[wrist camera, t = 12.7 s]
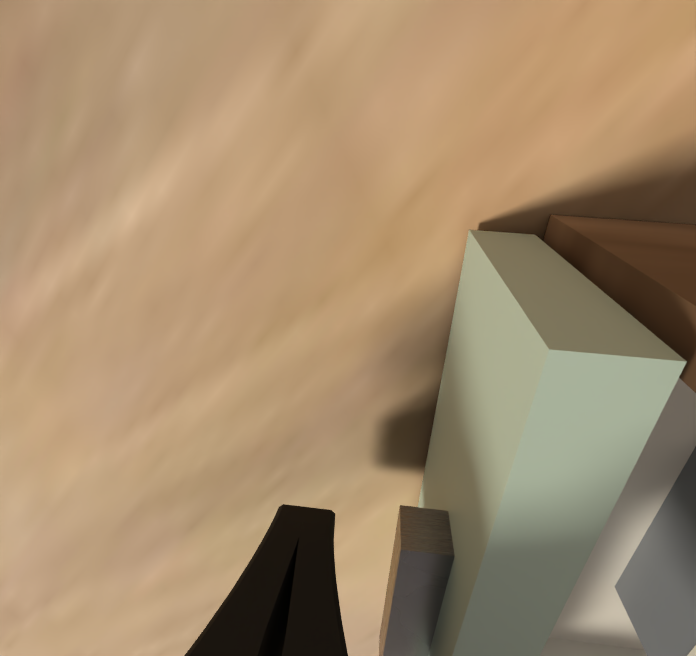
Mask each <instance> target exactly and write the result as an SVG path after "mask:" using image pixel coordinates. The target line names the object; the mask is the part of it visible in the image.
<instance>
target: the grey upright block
mask: <svg viewBox="0 0 696 656" xmlns="http://www.w3.org/2000/svg"><path fill="white" fill-rule="evenodd" d="M615 589H616V591H617V593H618V595H619V597H620V599H621V602H622V604H623V606H624V608H625V610H626V612H627V614H628V616H629V619H630V621H631V623H632V625H633V627H634V629H635V631H636V633H637V636H638V638H639V640H640V642H641V644H642V646H643V648H644V650H645V652H646V655H647V656H696V447H695V448H694V450H693V452H692V454H691V455H690V457H689V459H688V460H687V462H686V464H685V466H684V467H683V469H682V471H681V473H680V474H679V476H678V478H677V479H676V481H675V483H674V485H673V486H672V488H671V490H670V492H669V493H668V495H667V497H666V498H665V500H664V502H663V504H662V505H661V507H660V509H659V511H658V512H657V514H656V516H655V517H654V519H653V521H652V523H651V524H650V526H649V528H648V530H647V531H646V533H645V535H644V536H643V538H642V540H641V542H640V543H639V545H638V547H637V549H636V550H635V552H634V554H633V556H632V557H631V559H630V561H629V562H628V564H627V566H626V568H625V569H624V571H623V573H622V575H621V576H620V578H619V580H618V581H617V583H616V585H615Z"/></svg>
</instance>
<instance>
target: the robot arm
mask: <svg viewBox="0 0 696 656" xmlns="http://www.w3.org/2000/svg"><path fill="white" fill-rule="evenodd" d="M334 526H335V513H334V512H333V511H332V510H326V509H317V508H309V507H301V506H292V505H284V504H283V505H282V506H280V507H279V509H278V511H277V513H276V515H275V517H274V519H273V521H272V523H271V525H270V527H269V529H268V531H267V533H266V535H265V536H264V538H263V540H262V542H261V544H260V545H259V547H258V549H257V550H256V552H255V554H254V555H253V557H252V559H251V560H250V562H249V564H248V565H247V567H246V568H245V570H244V572H243V573H242V575H241V576H240V578H239V579H238V581H237V583H236V584H235V586H234V587H233V589H232V590H231V592H230V593H229V595H228V596H227V598H226V599H225V601H224V602H223V603H222V605H221V606H220V608H219V609H218V611H217V612H216V613H215V615H214V616H213V618H212V619H211V621H210V622H209V623H208V625H207V626H206V628H205V629H204V630H203V632H202V633H201V634H200V636H199V637H198V639H197V640H196V641H195V643H194V644H193V645H192V647H191V648H190V649H189V650H188V652H187V653H186V654H185V656H348V654H347V648H346V643H345V637H344V632H343V626H342V620H341V613H340V606H339V599H338V591H337V584H336V574H335V562H334Z"/></svg>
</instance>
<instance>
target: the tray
mask: <svg viewBox="0 0 696 656" xmlns="http://www.w3.org/2000/svg"><path fill="white" fill-rule="evenodd" d="M686 362H687V361H685V360H684V359H683V358H682V357H681V356H679V355H678V354H677V353H676V352H675V351H674V350H672V349H671V348H670V347H669V346H668V345H666V344H665V343H664V342H663V341H662V340H660V339H659V338H658V337H657V336H656V335H654V334H653V333H652V332H651V331H650V330H648V329H647V328H646V327H645V326H644V325H642V324H641V323H640V322H639V321H638V320H636V319H635V318H634V317H633V316H632V315H631V314H629V313H628V312H627V311H626V310H625V309H623V308H622V307H621V306H620V305H619V304H617V303H616V302H615V301H614V300H613V299H611V298H610V297H609V296H608V295H607V294H605V293H604V292H603V291H602V290H601V289H599V288H598V287H597V286H596V285H595V284H593V283H592V282H591V281H590V280H589V279H587V278H586V277H585V276H584V275H583V274H582V273H580V272H579V271H578V270H577V269H576V268H574V267H573V266H572V265H571V264H570V263H568V262H567V261H566V260H565V259H564V258H562V257H561V256H560V255H559V254H558V253H556V252H555V251H554V250H553V249H552V248H550V247H549V246H548V245H547V244H546V243H544V242H543V241H542V240H541V239H540V238H539V237H537V236H536V235H535V234H521V233H507V232H493V231H479V230H469V233H468V238H467V244H466V249H465V255H464V260H463V265H462V271H461V276H460V282H459V287H458V292H457V298H456V303H455V309H454V314H453V319H452V325H451V330H450V336H449V341H448V346H447V352H446V357H445V363H444V368H443V374H442V379H441V384H440V390H439V395H438V401H437V406H436V411H435V417H434V422H433V428H432V433H431V438H430V444H429V449H428V455H427V460H426V465H425V471H424V476H423V482H422V487H421V492H420V498H419V503H418V507H411V506H402V505H400V509H399V515H398V521H397V528H396V534H395V541H394V547H393V553H392V560H391V566H390V573H389V579H388V586H387V592H386V598H385V605H384V611H383V618H382V624H381V630H380V643H379V656H647V655H646V652H645V650H644V648H643V646H642V644H641V642H640V640H639V638H638V636H637V633H636V631H635V629H634V627H633V625H632V623H631V621H630V619H629V616H628V614H627V612H626V610H625V608H624V606H623V604H622V602H621V599H620V597H619V595H618V593H617V591H616V589H615V585H616V583H617V581H618V580H619V578H620V576H621V575H622V573H623V571H624V569H625V568H626V566H627V564H628V562H629V561H630V559H631V557H632V556H633V554H634V552H635V550H636V549H637V547H638V545H639V543H640V542H641V540H642V538H643V536H644V535H645V533H646V531H647V530H648V528H649V526H650V524H651V523H652V521H653V519H654V517H655V516H656V514H657V512H658V511H659V509H660V507H661V505H662V504H663V502H664V500H665V498H666V497H667V495H668V493H669V492H670V490H671V488H672V486H673V485H674V483H675V481H676V479H677V478H678V476H679V474H680V473H681V471H682V469H683V467H684V466H685V464H686V462H687V460H688V459H689V457H690V455H691V454H692V452H693V450H694V448H695V447H696V393H695V392H694V391H693V390H692V389H691V388H690V387H689V386H687V385H686V384H685V383H684V382H683V381H682V380H681V379H680V378H679V376H680V374H681V372H682V370H683V368H684V366H685V364H686Z"/></svg>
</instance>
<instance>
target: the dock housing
mask: <svg viewBox="0 0 696 656" xmlns="http://www.w3.org/2000/svg"><path fill="white" fill-rule="evenodd" d="M543 242H544V243H546V244H547V245H548V246H549V247H550V248H552V249H553V250H554V251H555V252H556V253H558V254H559V255H560V256H561V257H562V258H564V259H565V260H566V261H567V262H568V263H570V264H571V265H572V266H573V267H574V268H576V269H577V270H578V271H579V272H580V273H582V274H583V275H584V276H585V277H586V278H587V279H589V280H590V281H591V282H592V283H593V284H595V285H596V286H597V287H598V288H599V289H601V290H602V291H603V292H604V293H605V294H607V295H608V296H609V297H610V298H611V299H613V300H614V301H615V302H616V303H617V304H619V305H620V306H621V307H622V308H623V309H625V310H626V311H627V312H628V313H629V314H631V315H632V316H633V317H634V318H635V319H636V320H638V321H639V322H640V323H641V324H642V325H644V326H645V327H646V328H647V329H648V330H650V331H651V332H652V333H653V334H654V335H656V336H657V337H658V338H659V339H660V340H662V341H663V342H664V343H665V344H666V345H668V346H669V347H670V348H671V349H672V350H674V351H675V352H676V353H677V354H678V355H679V356H681V357H682V358H683V359H684V360H685V361H687V362H686V364H685V366H684V368H683V370H682V372H681V374H680V376H679V378H680V379H681V380H682V381H683V382H684V383H685V384H686V385H687V386H689V387H690V388H691V389H692V390H693V391H694V392H695V393H696V225H692V224H678V223H663V222H649V221H635V220H620V219H606V218H591V217H577V216H562V215H550V218H549V222H548V225H547V229H546V233H545V236H544V240H543Z"/></svg>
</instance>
